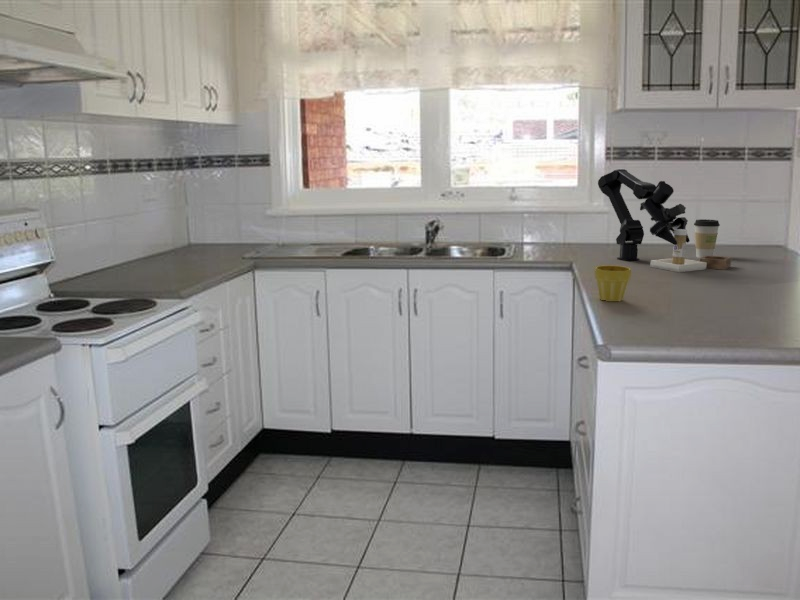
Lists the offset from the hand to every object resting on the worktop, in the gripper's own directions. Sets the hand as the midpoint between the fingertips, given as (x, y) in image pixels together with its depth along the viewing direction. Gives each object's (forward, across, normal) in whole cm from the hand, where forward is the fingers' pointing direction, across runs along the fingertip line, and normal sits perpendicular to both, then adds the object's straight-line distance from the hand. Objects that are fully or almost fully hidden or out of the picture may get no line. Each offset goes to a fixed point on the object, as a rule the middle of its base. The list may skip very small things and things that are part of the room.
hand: (682, 243), depth 288 cm
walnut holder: (+12, +12, +2) cm, 17 cm away
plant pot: (+17, -69, -3) cm, 72 cm away
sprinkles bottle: (+5, 0, +7) cm, 9 cm away
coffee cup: (+2, +34, +12) cm, 36 cm away
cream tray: (+6, 0, +8) cm, 10 cm away
